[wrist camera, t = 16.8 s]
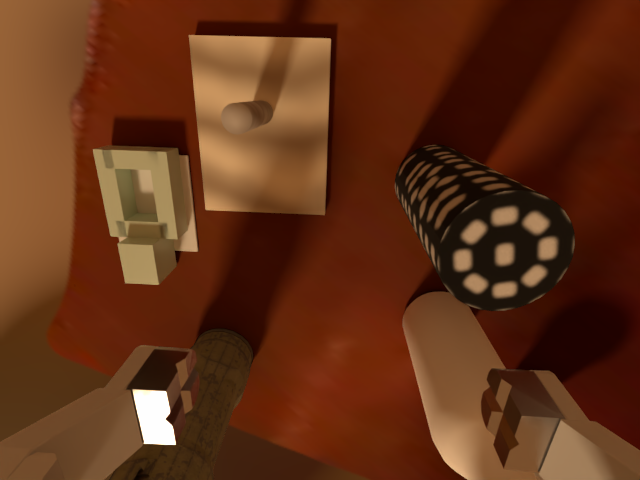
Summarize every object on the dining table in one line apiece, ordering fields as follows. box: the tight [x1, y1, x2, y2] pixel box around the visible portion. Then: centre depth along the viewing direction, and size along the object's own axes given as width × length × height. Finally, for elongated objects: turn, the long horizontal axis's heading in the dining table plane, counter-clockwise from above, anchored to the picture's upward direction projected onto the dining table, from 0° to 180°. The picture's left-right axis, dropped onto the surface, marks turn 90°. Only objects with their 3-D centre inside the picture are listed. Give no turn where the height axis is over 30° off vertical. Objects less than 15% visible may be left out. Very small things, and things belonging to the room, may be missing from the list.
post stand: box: [189, 35, 331, 215], centre depth 35 cm, size 18×14×12 cm
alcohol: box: [403, 291, 537, 480], centre depth 34 cm, size 9×9×30 cm
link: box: [93, 145, 188, 285], centre depth 42 cm, size 15×8×5 cm, turn 178°
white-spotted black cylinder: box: [395, 145, 575, 311], centre depth 32 cm, size 8×8×20 cm
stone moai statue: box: [109, 329, 253, 480], centre depth 36 cm, size 9×12×35 cm
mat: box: [119, 155, 199, 252], centre depth 44 cm, size 12×10×1 cm
